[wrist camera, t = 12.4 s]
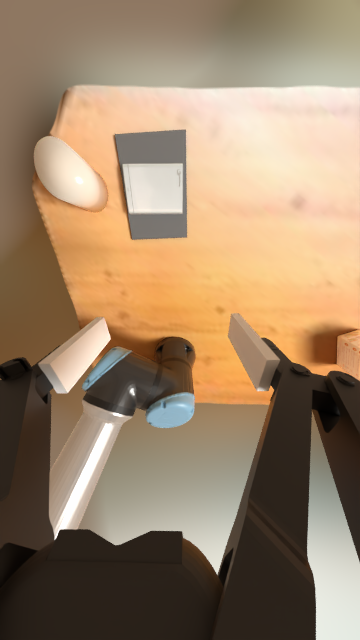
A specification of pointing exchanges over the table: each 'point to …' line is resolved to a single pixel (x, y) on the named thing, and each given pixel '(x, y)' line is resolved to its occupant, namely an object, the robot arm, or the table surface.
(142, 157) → the mat
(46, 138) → the cream rounded cylinder
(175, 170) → the hard drive
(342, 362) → the coffeecake box
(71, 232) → the table surface
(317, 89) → the table surface
